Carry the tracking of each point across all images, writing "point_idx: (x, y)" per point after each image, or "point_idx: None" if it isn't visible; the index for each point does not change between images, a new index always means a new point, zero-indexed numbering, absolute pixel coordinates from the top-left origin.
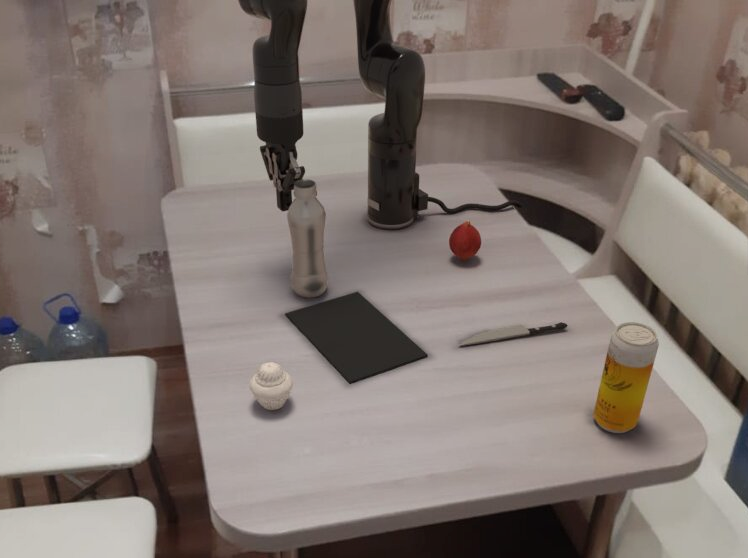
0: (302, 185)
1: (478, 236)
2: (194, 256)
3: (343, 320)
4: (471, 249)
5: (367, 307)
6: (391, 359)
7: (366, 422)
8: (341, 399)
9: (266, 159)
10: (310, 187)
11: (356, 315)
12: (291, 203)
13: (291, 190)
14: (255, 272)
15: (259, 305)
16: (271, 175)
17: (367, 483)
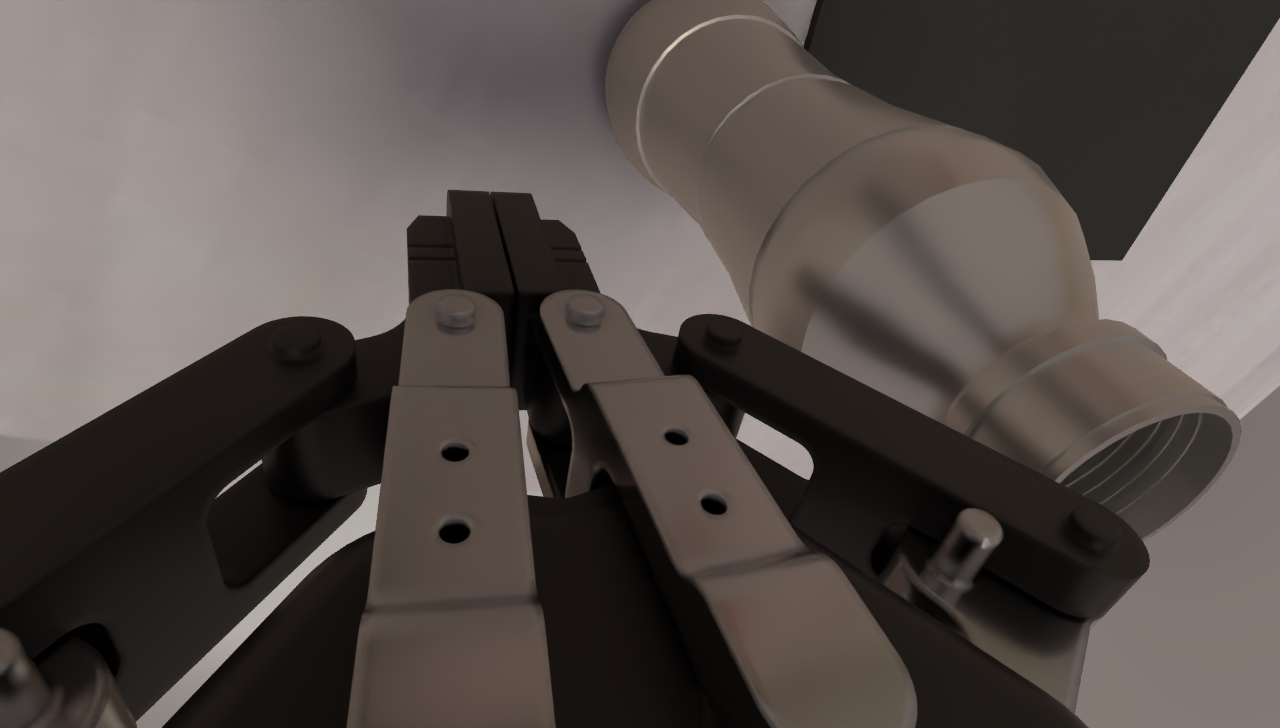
0: (998, 441)
1: None
2: (35, 379)
3: (950, 94)
4: None
5: None
6: (1200, 97)
7: (1203, 293)
8: (1120, 301)
9: (158, 698)
10: (1061, 368)
11: (974, 23)
12: (576, 244)
13: (562, 281)
14: (353, 201)
15: (625, 298)
16: (354, 511)
17: (1254, 367)
